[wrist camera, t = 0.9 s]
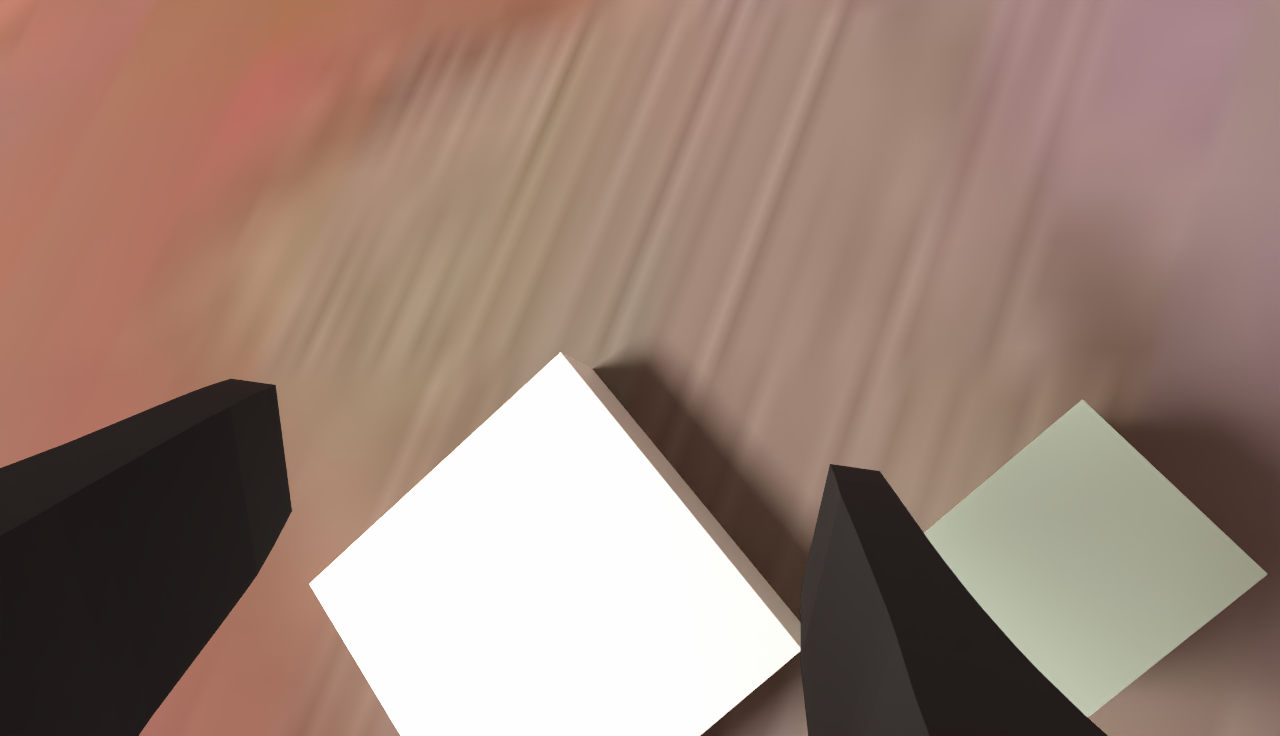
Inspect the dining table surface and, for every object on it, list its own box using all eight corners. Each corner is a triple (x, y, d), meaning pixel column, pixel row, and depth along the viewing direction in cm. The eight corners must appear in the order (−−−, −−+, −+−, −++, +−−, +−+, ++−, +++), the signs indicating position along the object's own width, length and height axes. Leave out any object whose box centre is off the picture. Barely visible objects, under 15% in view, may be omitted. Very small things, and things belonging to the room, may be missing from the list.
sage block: (1189, 565, 21) (1267, 574, 16) (1044, 683, 22) (1080, 724, 17) (1047, 427, 23) (1082, 399, 18) (914, 540, 23) (913, 541, 18)
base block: (815, 636, 24) (802, 649, 21) (548, 861, 25) (501, 902, 22) (597, 371, 27) (560, 352, 24) (369, 579, 28) (309, 584, 25)
